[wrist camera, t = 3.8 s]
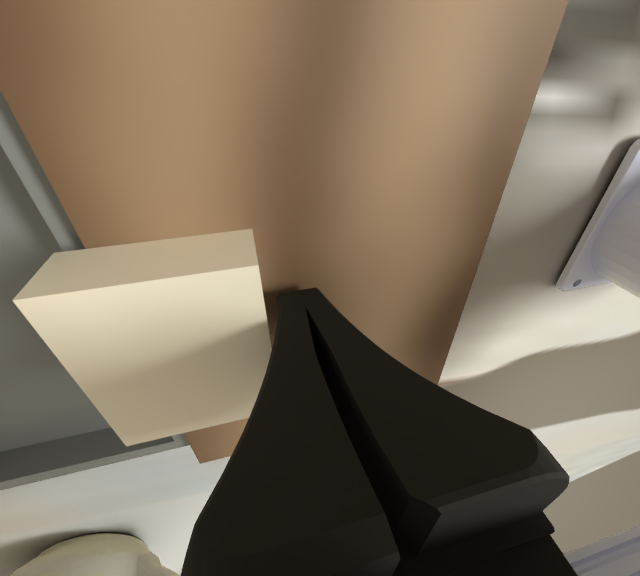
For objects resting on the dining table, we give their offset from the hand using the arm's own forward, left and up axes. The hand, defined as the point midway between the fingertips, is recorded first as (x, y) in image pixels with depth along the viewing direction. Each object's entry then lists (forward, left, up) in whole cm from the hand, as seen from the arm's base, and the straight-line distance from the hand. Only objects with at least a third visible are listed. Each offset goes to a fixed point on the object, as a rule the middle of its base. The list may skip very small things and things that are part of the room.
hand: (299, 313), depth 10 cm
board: (-1, 0, -3) cm, 3 cm away
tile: (+4, 0, 0) cm, 4 cm away
